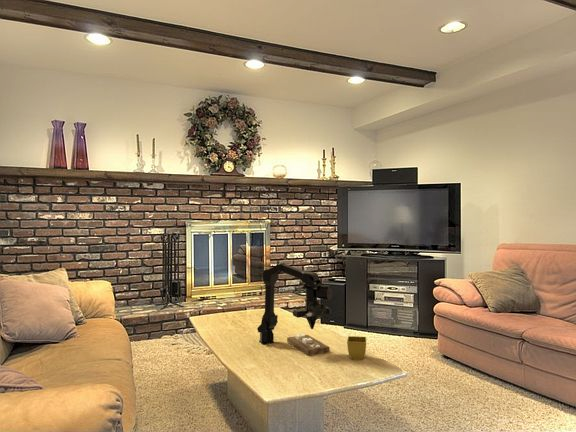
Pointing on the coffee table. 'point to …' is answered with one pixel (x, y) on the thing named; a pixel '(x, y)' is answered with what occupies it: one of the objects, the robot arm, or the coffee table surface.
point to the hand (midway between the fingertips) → (312, 329)
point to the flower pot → (356, 347)
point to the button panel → (308, 346)
